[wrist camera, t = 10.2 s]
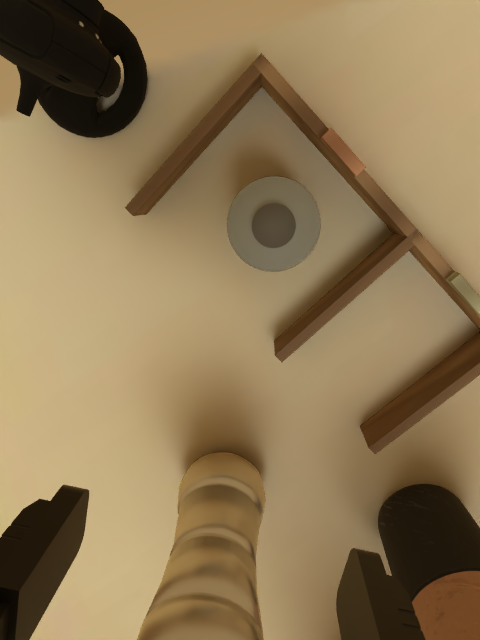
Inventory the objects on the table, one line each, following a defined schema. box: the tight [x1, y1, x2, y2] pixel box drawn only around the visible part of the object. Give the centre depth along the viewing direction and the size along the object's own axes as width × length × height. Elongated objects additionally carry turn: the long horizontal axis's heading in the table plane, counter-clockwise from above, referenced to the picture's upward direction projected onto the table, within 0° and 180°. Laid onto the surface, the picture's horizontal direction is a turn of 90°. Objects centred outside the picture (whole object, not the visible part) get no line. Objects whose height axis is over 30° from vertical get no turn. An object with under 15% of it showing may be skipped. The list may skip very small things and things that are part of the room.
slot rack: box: [125, 53, 480, 454], centre depth 28 cm, size 24×12×4 cm, turn 45°
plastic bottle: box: [137, 452, 266, 640], centre depth 26 cm, size 6×7×20 cm
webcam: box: [0, 0, 147, 138], centre depth 23 cm, size 8×8×10 cm
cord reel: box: [227, 176, 321, 272], centre depth 26 cm, size 5×5×7 cm
